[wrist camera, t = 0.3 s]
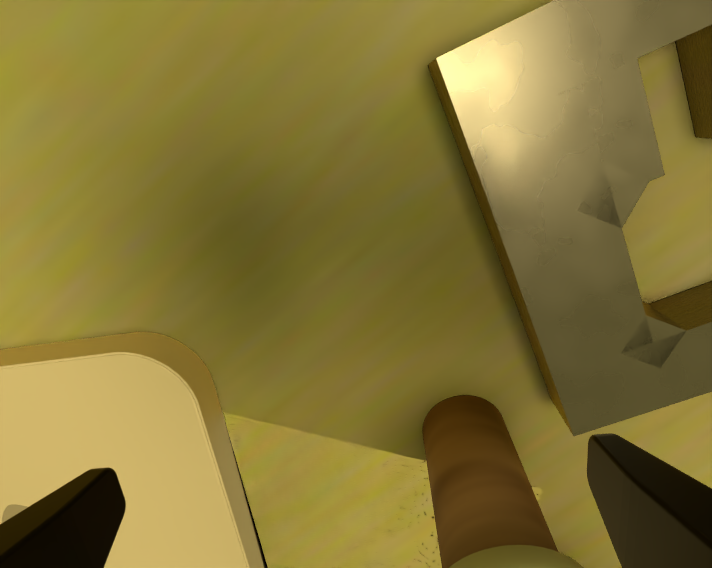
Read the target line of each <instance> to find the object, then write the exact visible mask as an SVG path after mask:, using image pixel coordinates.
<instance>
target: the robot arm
mask: <svg viewBox="0 0 712 568" xmlns="http://www.w3.org/2000/svg"><path fill="white" fill-rule="evenodd" d="M587 477H588V482H589V486H590V488H591V491H592V493H593V496H594V498H595V501H596V503H597V506H598V509H599V511H600V514H601V516H602V519H603V521H604V524H605V526H606V529H607V531H608V534H609V536H610V539H611V541H612V544H613V546H614V549H615V551H616V554H617V556H618V559H619V561H620V563H621V566H622V568H712V489H711V488H710V487H708V486H706V485H704V484H703V483H701V482H699V481H697V480H695V479H694V478H692V477H690V476H688V475H687V474H685V473H683V472H681V471H680V470H678V469H676V468H674V467H673V466H671V465H669V464H667V463H666V462H664V461H662V460H660V459H658V458H657V457H655V456H653V455H651V454H650V453H648V452H646V451H644V450H643V449H641V448H639V447H637V446H636V445H634V444H632V443H630V442H629V441H627V440H625V439H623V438H622V437H620V436H618V435H616V434H597V435H592V436H591V437H590V438H589V442H588V461H587ZM125 509H126V501H125V497H124V494H123V492H122V489H121V486H120V483H119V480H118V477H117V474H116V472H115V471H114V470H113V469H112V468H109V467H108V468H94V469H90V470H88V471H86V472H84V473H83V474H81V475H80V476H78V477H76V478H75V479H73V480H71V481H70V482H68V483H67V484H65V485H63V486H62V487H60V488H58V489H57V490H55V491H54V492H52V493H50V494H49V495H47V496H45V497H44V498H42V499H40V500H39V501H37V502H36V503H34V504H32V505H31V506H29V507H27V508H26V509H24V510H23V511H21V512H19V513H18V514H16V515H14V516H13V517H11V518H10V519H8V520H6V521H5V522H3V523H1V524H0V568H104V566H105V564H106V561H107V558H108V556H109V553H110V551H111V548H112V545H113V543H114V540H115V538H116V535H117V532H118V530H119V527H120V524H121V522H122V519H123V517H124V514H125Z"/></svg>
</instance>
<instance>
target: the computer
mask: <svg viewBox="0 0 712 568" xmlns="http://www.w3.org/2000/svg"><path fill="white" fill-rule="evenodd" d="M108 467H109V468H112V469H113V470H114V471H115V472H116V474H117V477H118V480H119V483H120V486H121V489H122V492H123V494H124V497H125V501H126V509H125V514H124V517H123V519H122V522H121V524H120V527H119V530H118V532H117V535H116V538H115V540H114V543H113V545H112V548H111V551H110V553H109V556H108V558H107V561H106V564H105V566H104V568H268V566H267V563H266V560H265V556H264V553H263V549H262V546H261V543H260V539H259V536H258V532H257V529H256V526H255V522H254V519H253V515H252V512H251V508H250V505H249V502H248V498H247V495H246V491H245V488H244V485H243V481H242V478H241V474H240V471H239V468H238V464H237V461H236V457H235V454H234V451H233V447H232V444H231V440H230V437H229V433H228V430H227V427H226V423H225V420H224V416H223V413H222V410H221V406H220V403H219V399H218V396H217V393H216V389H215V386H214V382H213V379H212V376H211V374H210V372H209V370H208V368H207V367H206V365H205V364H204V362H203V361H202V360H201V359H200V358H199V357H198V355H197V354H196V353H195V352H193V351H192V350H191V349H190V348H188V347H187V346H186V345H184V344H183V343H181V342H179V341H177V340H175V339H173V338H171V337H168V336H165V335H162V334H157V333H152V332H133V333H125V334H117V335H109V336H101V337H93V338H85V339H77V340H70V341H62V342H54V343H46V344H38V345H30V346H22V347H14V348H6V349H0V524H1V523H3V522H5V521H6V520H8V519H10V518H11V517H13V516H14V515H16V514H18V513H19V512H21V511H23V510H24V509H26V508H27V507H29V506H31V505H32V504H34V503H36V502H37V501H39V500H40V499H42V498H44V497H45V496H47V495H49V494H50V493H52V492H54V491H55V490H57V489H58V488H60V487H62V486H63V485H65V484H67V483H68V482H70V481H71V480H73V479H75V478H76V477H78V476H80V475H81V474H83V473H84V472H86V471H88V470H90V469H94V468H108Z"/></svg>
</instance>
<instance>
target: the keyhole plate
mask: <svg viewBox="0 0 712 568" xmlns="http://www.w3.org/2000/svg"><path fill="white" fill-rule="evenodd" d="M674 41H676V45H677V50H678V55H679V60H680V64H681V69H682V74H683V79H684V83H685V88H686V93H687V98H688V102H689V107H690V112H691V117H692V121H693V126H694V131H695V136H696V137H699V138H711V139H712V0H554V1H552V2H549V3H547V4H545V5H543V6H541V7H539V8H537V9H535V10H533V11H531V12H529V13H527V14H525V15H523V16H521V17H519V18H517V19H515V20H513V21H511V22H509V23H507V24H505V25H503V26H501V27H499V28H497V29H495V30H493V31H491V32H488V33H486V34H484V35H482V36H480V37H478V38H476V39H474V40H472V41H470V42H468V43H466V44H464V45H462V46H460V47H458V48H456V49H454V50H452V51H450V52H448V53H446V54H444V55H442V56H440V57H438V58H436V59H435V60H433V61H432V62H431V63H430V64H429V65H428V68H429V71H430V73H431V76H432V79H433V81H434V84H435V87H436V89H437V92H438V95H439V98H440V100H441V103H442V106H443V108H444V111H445V114H446V116H447V119H448V122H449V125H450V127H451V130H452V133H453V135H454V138H455V141H456V143H457V146H458V149H459V152H460V154H461V157H462V160H463V162H464V165H465V168H466V170H467V173H468V176H469V178H470V181H471V184H472V187H473V189H474V192H475V195H476V197H477V200H478V203H479V205H480V208H481V211H482V214H483V216H484V219H485V222H486V224H487V227H488V230H489V232H490V235H491V238H492V241H493V243H494V246H495V249H496V251H497V254H498V257H499V259H500V262H501V265H502V267H503V270H504V273H505V276H506V278H507V281H508V284H509V286H510V289H511V292H512V294H513V297H514V300H515V303H516V305H517V308H518V311H519V313H520V316H521V319H522V321H523V324H524V327H525V330H526V332H527V335H528V338H529V340H530V343H531V346H532V348H533V351H534V354H535V356H536V359H537V362H538V365H539V367H540V370H541V373H542V375H543V378H544V381H545V383H546V386H547V389H548V392H549V394H550V397H551V400H552V401H553V403H554V405H555V406H556V408H557V410H558V411H559V413H560V415H561V416H562V418H563V420H564V421H565V423H566V425H567V426H568V428H569V429H570V431H571V433H572V434H573V436H576V435H579V434H582V433H585V432H588V431H592V430H595V429H598V428H601V427H604V426H607V425H610V424H613V423H616V422H619V421H622V420H625V419H629V418H632V417H635V416H638V415H641V414H644V413H647V412H650V411H653V410H656V409H659V408H662V407H666V406H669V405H672V404H675V403H678V402H681V401H684V400H687V399H690V398H693V397H696V396H699V395H703V394H706V393H709V392H712V281H711V282H708V283H705V284H703V285H700V286H697V287H694V288H692V289H689V290H686V291H683V292H681V293H678V294H675V295H672V296H670V297H667V298H664V299H661V300H659V301H656V302H653V303H650V304H647V303H645V302H642V300H641V297H640V293H639V289H638V286H637V282H636V278H635V275H634V271H633V268H632V264H631V260H630V257H629V253H628V249H627V246H626V242H625V239H624V235H623V231H622V227H623V225H624V224H625V222H626V220H627V218H628V217H629V215H630V213H631V212H632V210H633V208H634V207H635V205H636V203H637V201H638V200H639V198H640V196H641V195H642V193H643V191H644V190H645V188H646V186H647V184H648V183H649V181H651V180H654V179H656V178H659V177H661V176H664V175H665V174H664V170H663V165H662V161H661V157H660V153H659V149H658V144H657V140H656V136H655V132H654V127H653V123H652V119H651V115H650V111H649V106H648V102H647V98H646V94H645V90H644V85H643V81H642V77H641V73H640V68H639V64H638V60H637V58H639V57H641V56H643V55H646V54H648V53H650V52H652V51H654V50H657V49H659V48H661V47H663V46H665V45H668V44H670V43H672V42H674Z"/></svg>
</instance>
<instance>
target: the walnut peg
mask: <svg viewBox="0 0 712 568" xmlns="http://www.w3.org/2000/svg"><path fill="white" fill-rule="evenodd" d="M422 431H423V440H424V447H425V454H426V460H427V467H428V474H429V481H430V488H431V494H432V501H433V508H434V515H435V522H436V529H437V535H438V542H439V549H440V556H441V563H442V568H583V567H582V566H581V565H580V564H579V563H577V562H576V561H575V560H573V559H572V558H570V557H568V556H566V555H564V554H562V553H559V552H558V550H557V548H556V545H555V543H554V541H553V538H552V536H551V533H550V531H549V529H548V526H547V524H546V521H545V519H544V516H543V514H542V512H541V509H540V507H539V504H538V502H537V500H536V497H535V495H534V492H533V490H532V488H531V485H530V483H529V480H528V478H527V475H526V473H525V471H524V468H523V466H522V463H521V461H520V459H519V456H518V454H517V451H516V449H515V446H514V444H513V442H512V439H511V437H510V434H509V432H508V430H507V427H506V425H505V422H504V420H503V417H502V415H501V413H500V412H499V410H498V409H497V408H496V407H495V406H494V405H493V404H491V403H490V402H488V401H487V400H485V399H482V398H480V397H476V396H469V395H462V396H455V397H451V398H448V399H446V400H443V401H442V402H440V403H438V404H437V405H436V406H434V407H433V408H432V409H431V410H430V412H429V413H428V414H427V416H426V418H425V420H424V423H423V430H422Z"/></svg>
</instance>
